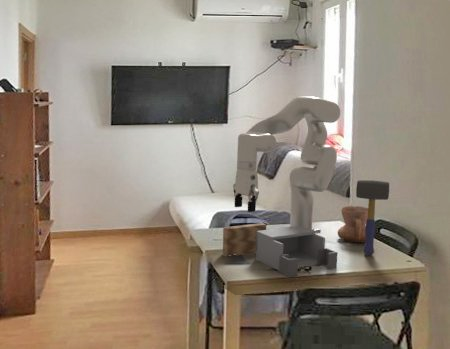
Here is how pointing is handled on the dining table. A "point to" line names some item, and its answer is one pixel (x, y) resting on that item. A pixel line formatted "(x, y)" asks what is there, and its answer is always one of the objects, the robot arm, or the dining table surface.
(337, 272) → the dining table surface
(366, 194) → the rubber mallet
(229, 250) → the tan wooden plank
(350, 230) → the ceramic jug
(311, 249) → the cabinet
